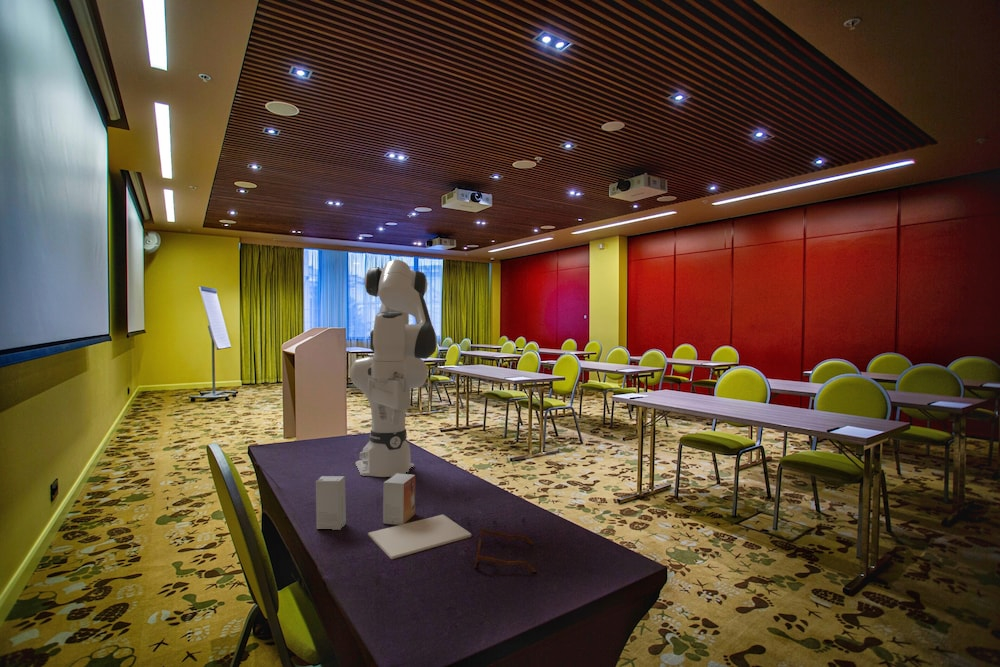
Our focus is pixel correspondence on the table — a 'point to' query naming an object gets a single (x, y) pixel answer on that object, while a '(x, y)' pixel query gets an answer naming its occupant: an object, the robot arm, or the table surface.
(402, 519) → the small box
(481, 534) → the glasses
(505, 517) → the table surface
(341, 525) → the skincare box
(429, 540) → the felt mat
